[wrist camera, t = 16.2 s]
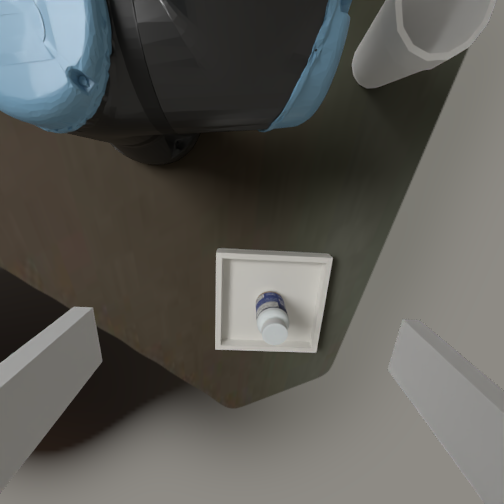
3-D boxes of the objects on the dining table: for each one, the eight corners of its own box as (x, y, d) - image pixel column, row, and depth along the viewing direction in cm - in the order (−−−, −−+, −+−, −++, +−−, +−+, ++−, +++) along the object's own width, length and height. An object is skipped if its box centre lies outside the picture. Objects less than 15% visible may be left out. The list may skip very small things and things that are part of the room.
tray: (216, 340, 48) (215, 349, 46) (217, 248, 42) (216, 252, 40) (313, 344, 49) (316, 352, 47) (328, 253, 43) (332, 257, 40)
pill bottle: (285, 311, 46) (295, 345, 36) (258, 316, 46) (261, 351, 37) (281, 286, 44) (290, 316, 35) (252, 291, 44) (254, 322, 35)
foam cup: (392, 106, 36) (470, 70, 23) (334, 94, 35) (381, 51, 23) (416, 29, 33) (519, -60, 20) (352, 15, 32) (418, -85, 20)
